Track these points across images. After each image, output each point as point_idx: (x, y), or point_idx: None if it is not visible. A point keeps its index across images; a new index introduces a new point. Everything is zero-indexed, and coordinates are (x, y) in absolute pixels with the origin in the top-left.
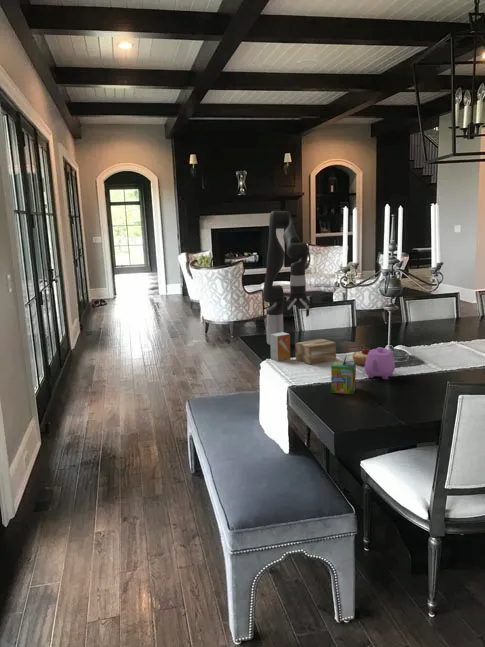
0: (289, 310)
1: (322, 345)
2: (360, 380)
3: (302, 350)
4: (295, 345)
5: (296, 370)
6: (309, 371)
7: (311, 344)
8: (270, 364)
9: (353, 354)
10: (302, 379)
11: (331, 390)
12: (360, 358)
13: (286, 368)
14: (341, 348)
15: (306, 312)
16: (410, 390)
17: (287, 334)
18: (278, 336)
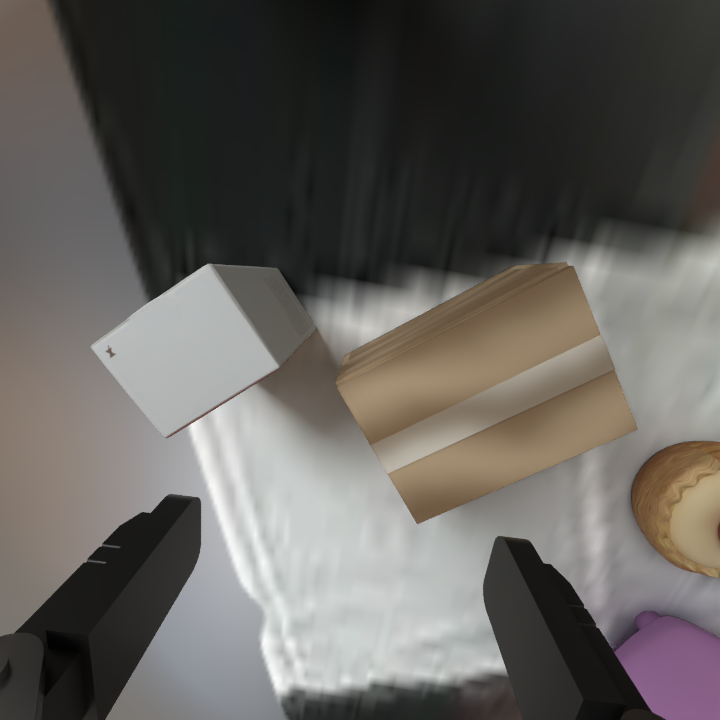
0: (89, 707)
1: (516, 477)
2: None
3: None
4: (337, 381)
5: (327, 534)
6: (382, 556)
7: (444, 454)
8: (207, 421)
9: (664, 508)
10: (337, 642)
11: None
12: (668, 560)
13: (284, 498)
14: (713, 103)
15: (518, 690)
16: None
17: (255, 381)
18: (174, 433)
